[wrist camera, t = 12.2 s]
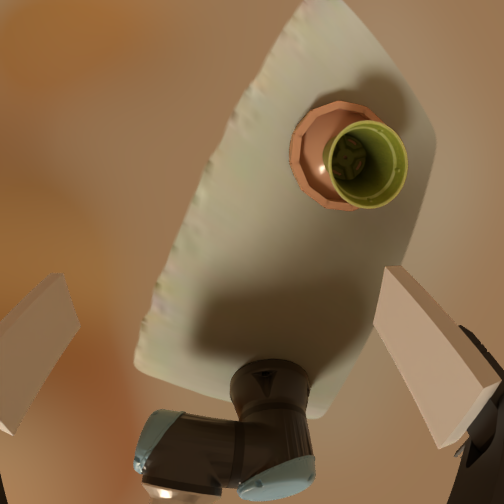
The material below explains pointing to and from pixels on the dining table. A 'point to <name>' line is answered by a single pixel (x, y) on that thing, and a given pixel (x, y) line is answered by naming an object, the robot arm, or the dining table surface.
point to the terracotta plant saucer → (312, 145)
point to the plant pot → (367, 164)
